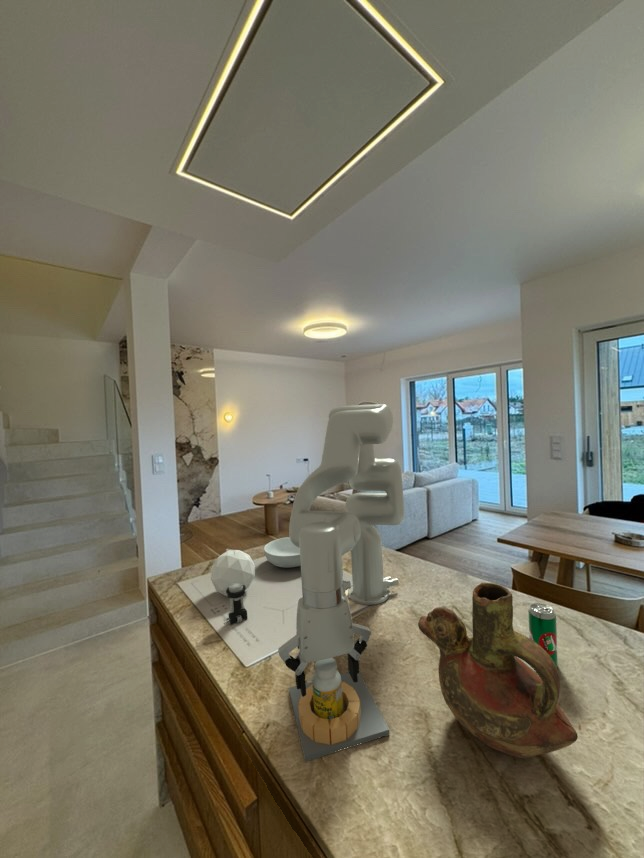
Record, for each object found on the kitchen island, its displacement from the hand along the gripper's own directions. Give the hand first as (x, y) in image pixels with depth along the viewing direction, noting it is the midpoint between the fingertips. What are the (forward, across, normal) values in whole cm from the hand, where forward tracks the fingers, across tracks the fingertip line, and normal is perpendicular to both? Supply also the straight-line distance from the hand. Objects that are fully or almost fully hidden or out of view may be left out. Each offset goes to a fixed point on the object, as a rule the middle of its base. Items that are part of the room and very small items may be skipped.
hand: (328, 683), depth 64 cm
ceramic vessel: (+7, -26, +10) cm, 29 cm away
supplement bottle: (+6, 0, 0) cm, 6 cm away
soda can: (+7, -48, +1) cm, 48 cm away
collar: (+7, 0, 0) cm, 7 cm away
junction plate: (+7, -1, -1) cm, 7 cm away
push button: (+7, +16, -39) cm, 43 cm away
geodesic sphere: (+7, +16, -56) cm, 59 cm away
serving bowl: (+8, -6, -72) cm, 73 cm away
